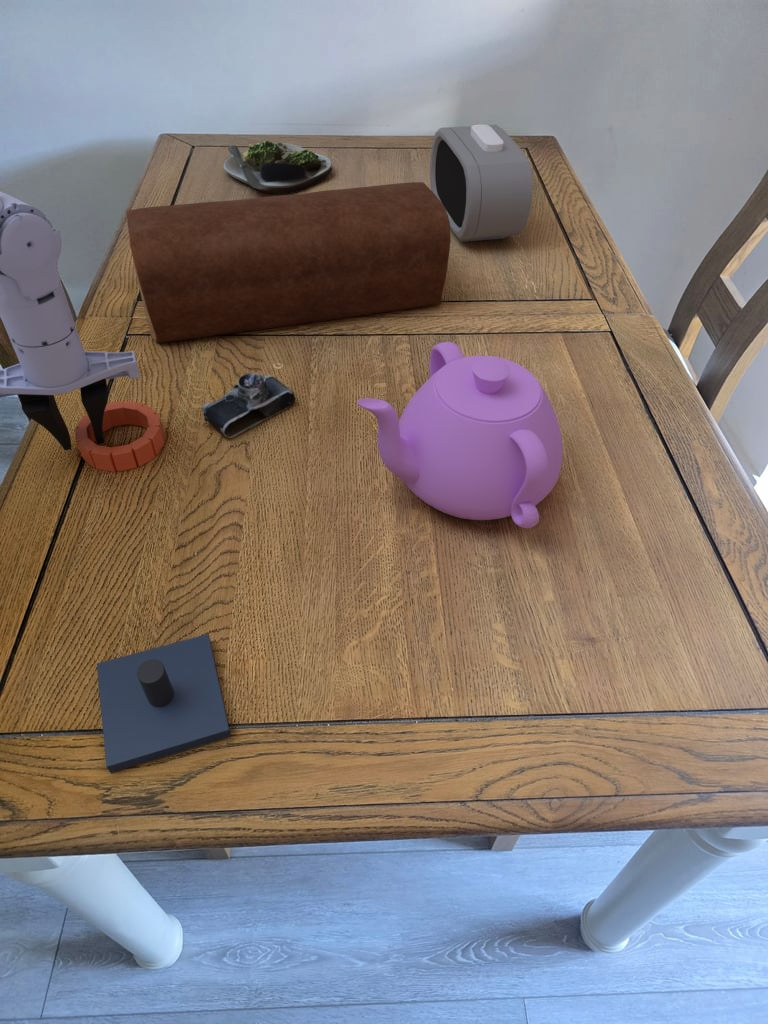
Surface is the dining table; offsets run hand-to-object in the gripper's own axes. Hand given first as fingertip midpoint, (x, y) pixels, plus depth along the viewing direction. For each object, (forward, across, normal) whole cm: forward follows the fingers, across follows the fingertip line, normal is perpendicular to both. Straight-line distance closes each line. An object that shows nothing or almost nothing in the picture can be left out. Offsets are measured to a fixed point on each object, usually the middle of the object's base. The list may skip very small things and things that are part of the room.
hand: (84, 440), depth 74 cm
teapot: (+2, -36, +16) cm, 39 cm away
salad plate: (+2, -36, -63) cm, 73 cm away
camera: (+2, -18, -1) cm, 18 cm away
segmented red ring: (+1, -4, 0) cm, 4 cm away
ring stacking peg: (+1, -4, +32) cm, 32 cm away
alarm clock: (+2, -62, -37) cm, 72 cm away
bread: (+2, -29, -23) cm, 37 cm away
